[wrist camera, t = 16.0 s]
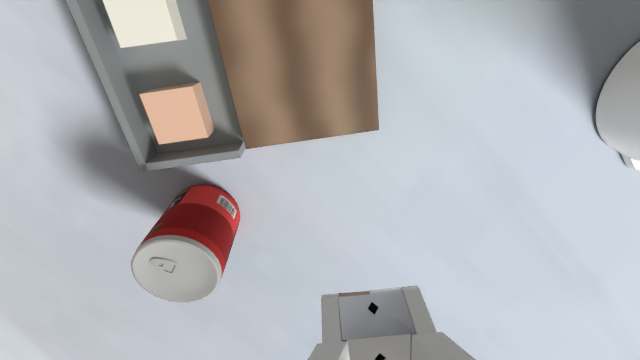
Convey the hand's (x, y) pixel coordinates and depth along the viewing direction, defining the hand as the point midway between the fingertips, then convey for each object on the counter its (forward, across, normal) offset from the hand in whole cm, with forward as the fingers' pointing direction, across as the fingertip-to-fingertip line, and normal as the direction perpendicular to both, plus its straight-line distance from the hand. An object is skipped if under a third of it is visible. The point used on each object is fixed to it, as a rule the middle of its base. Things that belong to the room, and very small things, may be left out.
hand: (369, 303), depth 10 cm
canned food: (+26, +16, +11) cm, 32 cm away
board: (+26, +2, -6) cm, 27 cm away
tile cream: (+25, +15, -11) cm, 31 cm away
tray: (+26, +15, -6) cm, 30 cm away
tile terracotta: (+25, +15, -2) cm, 29 cm away
